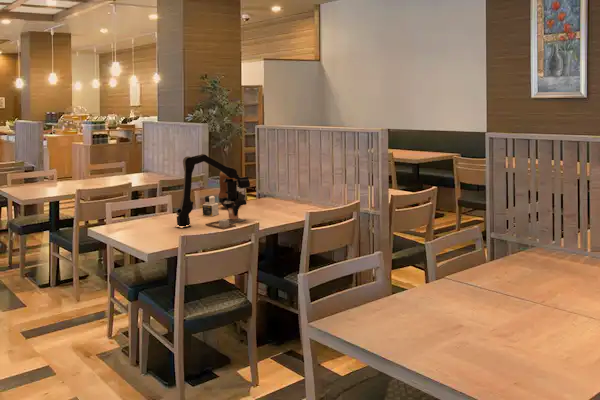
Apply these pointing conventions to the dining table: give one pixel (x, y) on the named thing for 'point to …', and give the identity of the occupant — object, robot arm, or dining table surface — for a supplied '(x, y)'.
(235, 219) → the slate pad
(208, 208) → the medicine bottle
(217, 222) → the caddy
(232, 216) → the terracotta block
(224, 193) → the butternut squash
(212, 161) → the robot arm
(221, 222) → the grey block
